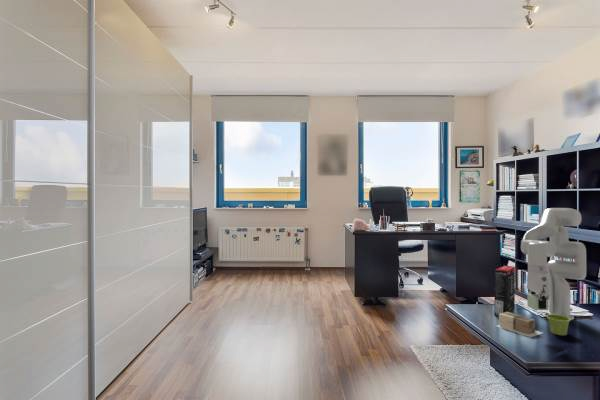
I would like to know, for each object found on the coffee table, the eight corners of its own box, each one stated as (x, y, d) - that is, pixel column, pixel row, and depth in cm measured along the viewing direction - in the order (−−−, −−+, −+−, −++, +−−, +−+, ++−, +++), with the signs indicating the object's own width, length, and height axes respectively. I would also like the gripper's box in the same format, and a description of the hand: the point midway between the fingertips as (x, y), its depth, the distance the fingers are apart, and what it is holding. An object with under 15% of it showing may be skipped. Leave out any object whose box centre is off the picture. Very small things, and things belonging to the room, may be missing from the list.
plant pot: (564, 340, 162) (564, 321, 162) (542, 333, 170) (542, 316, 170) (574, 336, 166) (574, 318, 166) (553, 330, 174) (552, 313, 175)
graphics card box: (502, 310, 206) (502, 264, 206) (516, 313, 201) (515, 266, 201) (494, 317, 194) (493, 269, 194) (508, 320, 189) (507, 270, 189)
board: (508, 324, 183) (508, 322, 183) (543, 335, 168) (543, 332, 168) (495, 328, 178) (495, 325, 178) (530, 339, 163) (530, 337, 163)
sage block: (540, 306, 168) (540, 293, 168) (548, 310, 162) (548, 297, 162) (527, 306, 168) (527, 293, 168) (535, 310, 162) (535, 297, 162)
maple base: (507, 323, 182) (507, 311, 182) (521, 327, 176) (520, 315, 176) (499, 325, 179) (498, 313, 179) (512, 329, 172) (512, 317, 172)
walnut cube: (522, 328, 175) (522, 316, 175) (535, 332, 169) (535, 319, 169) (515, 330, 172) (515, 318, 172) (528, 334, 166) (528, 321, 166)
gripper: (558, 272, 156) (558, 312, 156) (533, 265, 173) (534, 301, 173) (541, 272, 156) (541, 312, 156) (518, 265, 174) (519, 301, 174)
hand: (537, 306), depth 165 cm, fingers closed on sage block, 6 cm apart
